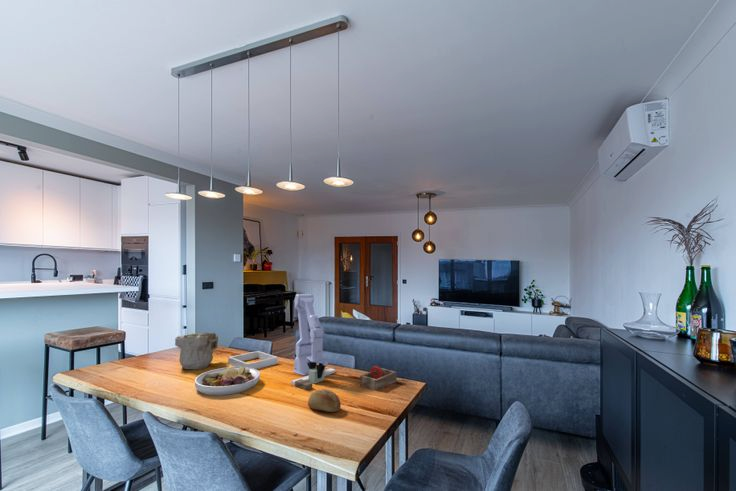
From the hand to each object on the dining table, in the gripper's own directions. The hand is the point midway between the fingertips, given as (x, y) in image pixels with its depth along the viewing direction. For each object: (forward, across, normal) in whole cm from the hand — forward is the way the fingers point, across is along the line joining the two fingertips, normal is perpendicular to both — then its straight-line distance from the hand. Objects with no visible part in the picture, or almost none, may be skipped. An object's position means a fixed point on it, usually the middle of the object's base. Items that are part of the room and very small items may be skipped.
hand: (316, 376), depth 172 cm
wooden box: (+2, +27, +19) cm, 33 cm away
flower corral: (+2, -51, -5) cm, 52 cm away
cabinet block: (+2, 0, 0) cm, 2 cm away
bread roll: (+3, +27, -21) cm, 35 cm away
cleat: (+2, +2, -10) cm, 10 cm away
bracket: (+3, +27, +19) cm, 33 cm away
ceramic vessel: (+2, -72, -28) cm, 78 cm away
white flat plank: (+2, -5, +3) cm, 6 cm away
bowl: (+3, -28, -33) cm, 44 cm away
